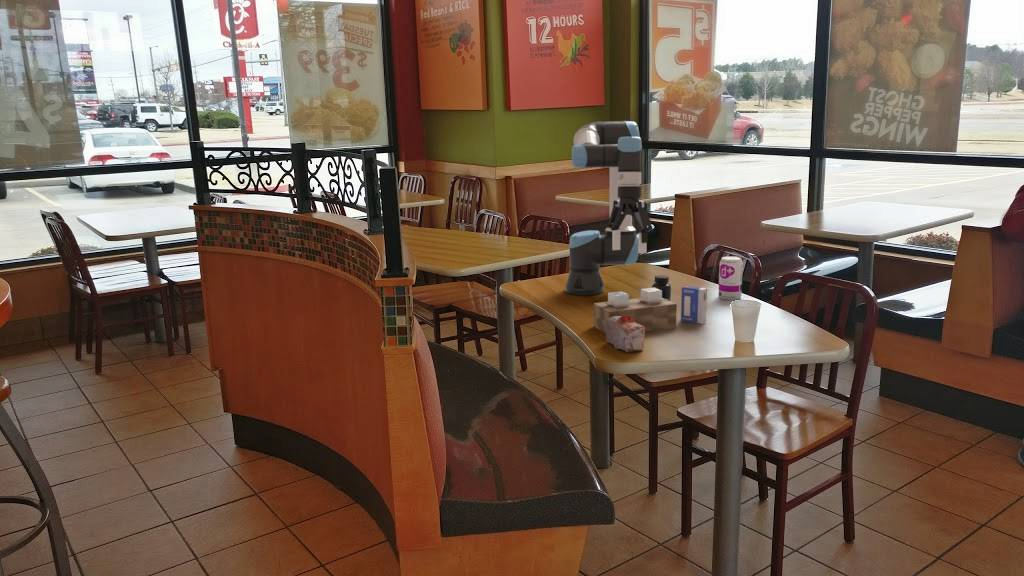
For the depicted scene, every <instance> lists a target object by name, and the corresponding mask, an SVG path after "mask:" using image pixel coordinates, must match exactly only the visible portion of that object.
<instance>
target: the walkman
mask: <svg viewBox="0 0 1024 576" xmlns="http://www.w3.org/2000/svg"><path fill="white" fill-rule="evenodd" d="M707 297H708V288H707V287H699V286H689V285H684V286H682V287H681V301H680V302H681V303H680V304H681V305H680V307H681V308H680V321H681V322H685V323H690V324H698V323H700V325H703V324H705V322H706V323H707V308H708V307H707V305H708V304H707V299H708V298H707Z"/></svg>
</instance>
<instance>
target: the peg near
mask: <svg viewBox="0 0 1024 576" xmlns="http://www.w3.org/2000/svg"><path fill="white" fill-rule="evenodd" d="M629 299H630V294H629V293H627V292H625V291H622V290H621V291H612V292H608V293H607V302H608V305H609V306H611V307H613V308H623V307H629Z"/></svg>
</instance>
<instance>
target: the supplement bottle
mask: <svg viewBox="0 0 1024 576" xmlns="http://www.w3.org/2000/svg"><path fill="white" fill-rule="evenodd" d="M669 280H670V278H669V276H667V275H662V274H659V275H655V276H654V280H653V281H654V282H655V283H653V284H652V285H651V288H657V289H659V290H661V291H662V298H664V299H666V300H669V301H671V302H672V285H671V284H670V283H669V282H670V281H669Z"/></svg>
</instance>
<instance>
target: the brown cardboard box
mask: <svg viewBox="0 0 1024 576" xmlns="http://www.w3.org/2000/svg"><path fill="white" fill-rule="evenodd" d="M677 308H678V307H677V303H675V302H673V301H672V300H671V301H669V300H666V299H664V298H662V303H657V304H646V303H643V302H641V297H635V298H629V307H623V308H613V307H611V306H609V305H608V301H602V302H593V328H596V329H597V330H599V331H600V332H602V333H603V334H605V335H606V323H607V322H606V320H607V319H608V318H611V317H614V316H622V317H623V316H624V315H625V316H628V317H629V316H631V317H632V318H633V319H634V322H635V323H637V324H639V325H642V326H645V333H646V332H653V331H654V332H655V331H660V330H667V329H668V328H669V329H676V328H677V310H678V309H677ZM669 329H668V330H669Z"/></svg>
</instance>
